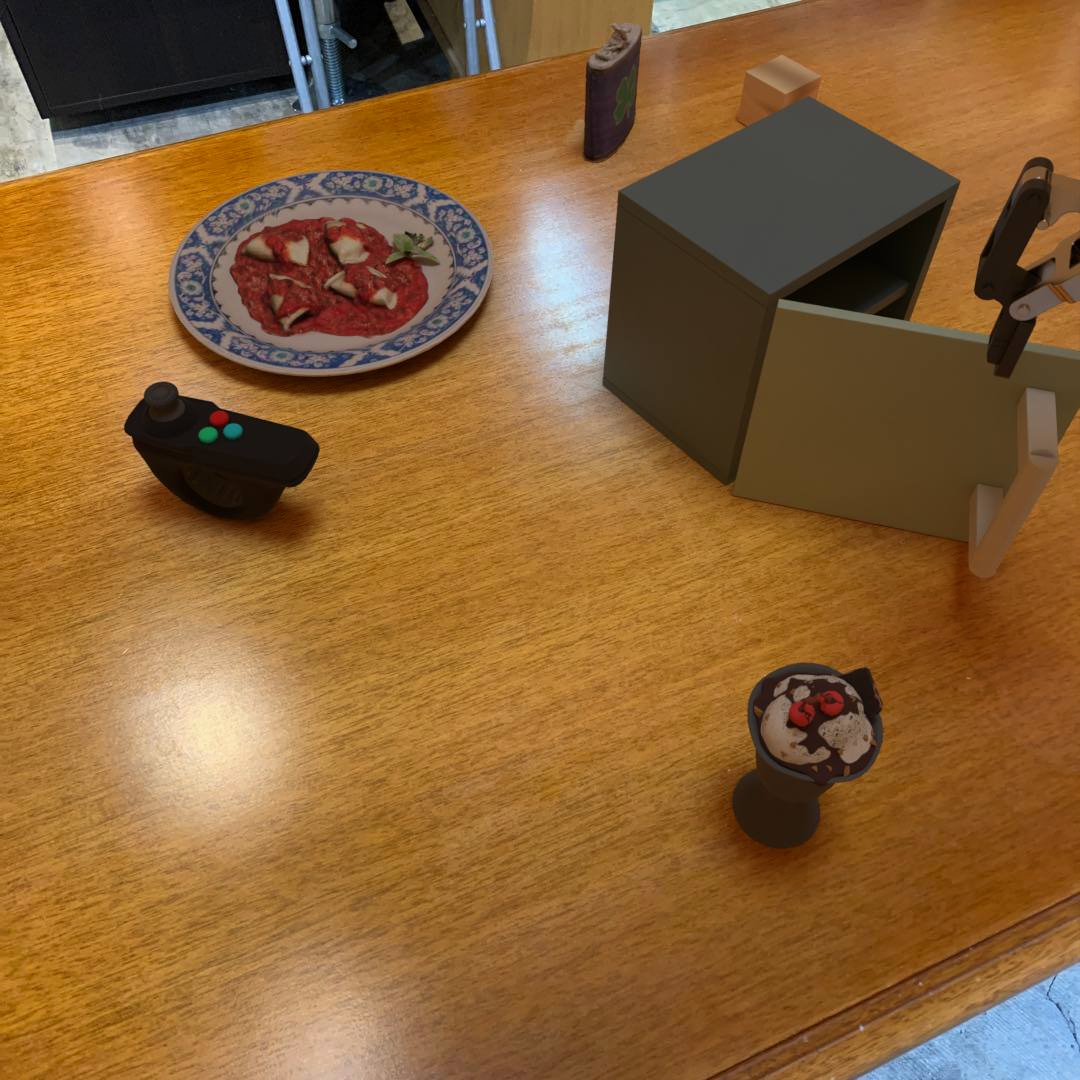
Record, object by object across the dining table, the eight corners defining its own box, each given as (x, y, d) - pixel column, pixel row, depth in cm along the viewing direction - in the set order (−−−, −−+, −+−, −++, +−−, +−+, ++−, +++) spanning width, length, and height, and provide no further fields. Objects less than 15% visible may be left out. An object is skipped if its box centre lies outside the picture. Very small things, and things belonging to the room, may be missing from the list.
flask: (615, 109, 105) (624, -2, 97) (643, 117, 105) (654, 6, 96) (576, 158, 100) (582, 45, 92) (605, 166, 99) (614, 54, 91)
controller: (176, 465, 76) (137, 359, 68) (339, 505, 74) (318, 401, 66) (146, 510, 74) (101, 406, 66) (314, 553, 72) (288, 450, 64)
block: (772, 103, 106) (782, 54, 103) (810, 125, 104) (822, 75, 100) (736, 120, 104) (745, 71, 100) (775, 143, 102) (785, 93, 98)
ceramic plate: (173, 416, 79) (163, 386, 77) (175, 207, 95) (167, 177, 92) (520, 372, 83) (520, 342, 80) (467, 177, 98) (466, 147, 96)
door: (999, 625, 69) (1113, 445, 56) (718, 566, 71) (763, 381, 58) (999, 540, 73) (1104, 354, 60) (733, 487, 76) (778, 298, 62)
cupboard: (889, 374, 83) (961, 180, 70) (725, 487, 76) (770, 294, 62) (765, 289, 89) (808, 95, 76) (601, 385, 82) (617, 190, 68)
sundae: (713, 855, 59) (762, 724, 47) (720, 746, 63) (767, 599, 52) (835, 874, 59) (915, 746, 47) (834, 763, 63) (907, 619, 51)
